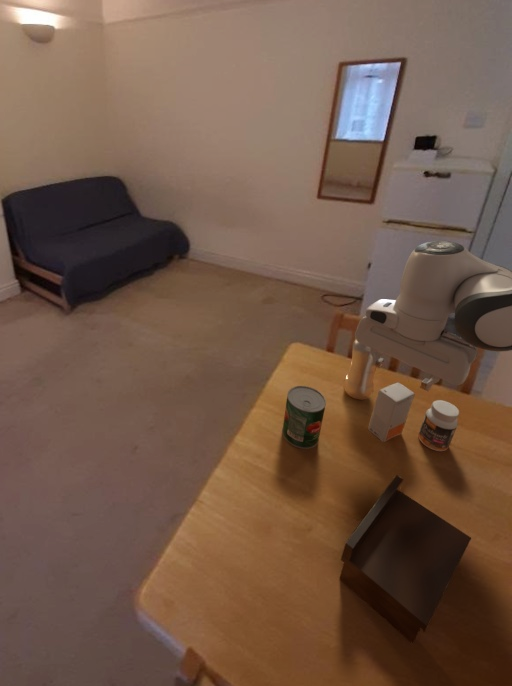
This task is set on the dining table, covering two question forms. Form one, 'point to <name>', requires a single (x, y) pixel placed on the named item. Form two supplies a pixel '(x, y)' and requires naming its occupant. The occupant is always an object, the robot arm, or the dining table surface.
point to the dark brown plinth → (402, 560)
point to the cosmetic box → (390, 411)
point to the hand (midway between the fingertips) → (400, 376)
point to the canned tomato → (303, 416)
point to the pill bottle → (439, 425)
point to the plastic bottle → (360, 372)
